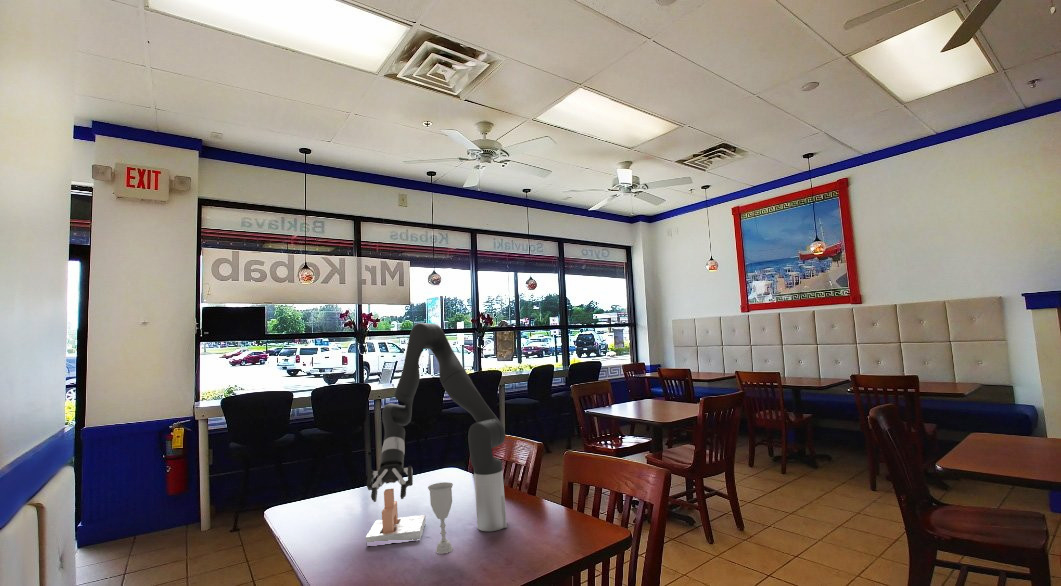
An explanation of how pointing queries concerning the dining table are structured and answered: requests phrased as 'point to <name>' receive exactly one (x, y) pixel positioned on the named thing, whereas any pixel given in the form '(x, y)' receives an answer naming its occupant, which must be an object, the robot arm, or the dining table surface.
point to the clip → (389, 511)
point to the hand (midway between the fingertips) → (388, 499)
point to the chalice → (441, 510)
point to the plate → (398, 529)
